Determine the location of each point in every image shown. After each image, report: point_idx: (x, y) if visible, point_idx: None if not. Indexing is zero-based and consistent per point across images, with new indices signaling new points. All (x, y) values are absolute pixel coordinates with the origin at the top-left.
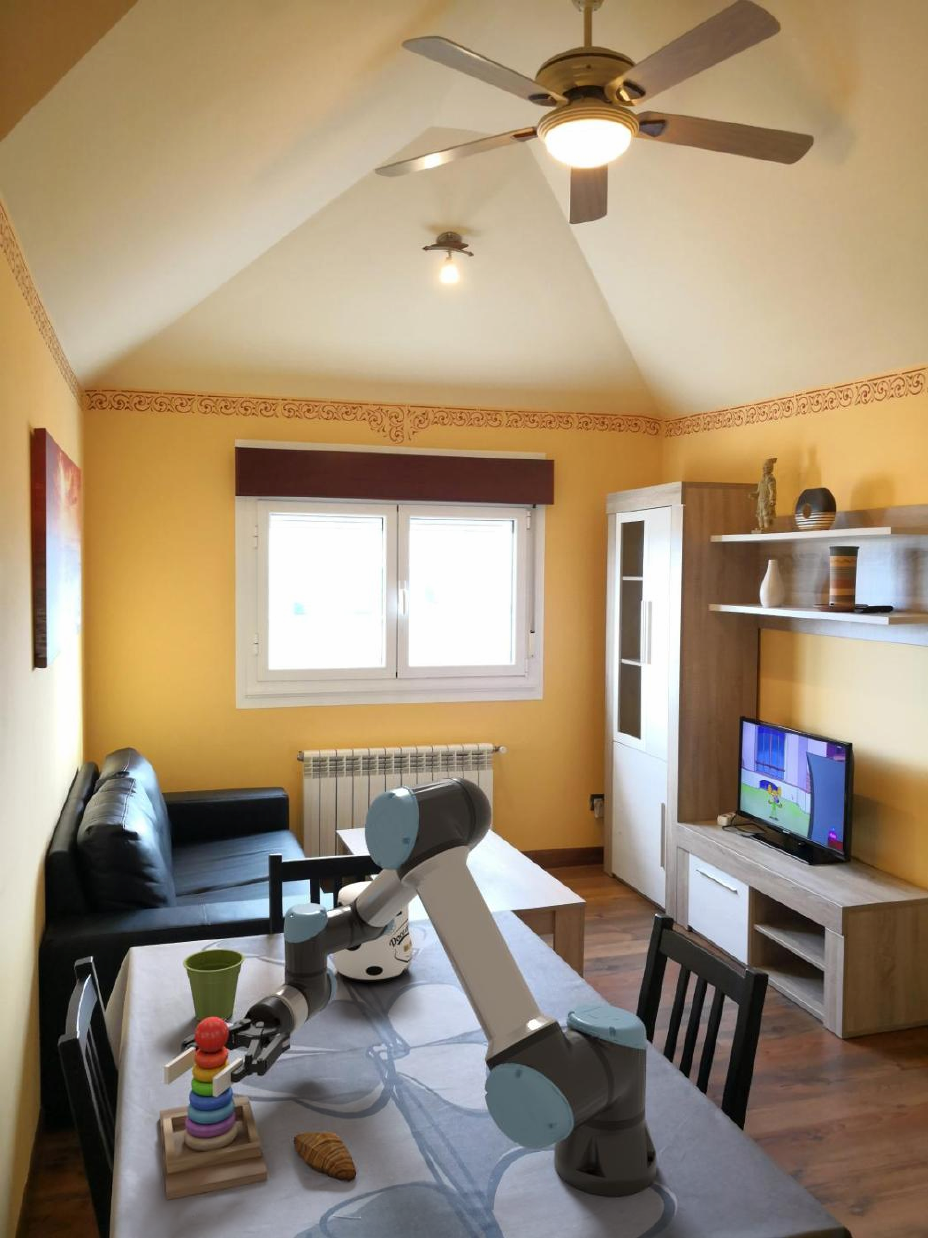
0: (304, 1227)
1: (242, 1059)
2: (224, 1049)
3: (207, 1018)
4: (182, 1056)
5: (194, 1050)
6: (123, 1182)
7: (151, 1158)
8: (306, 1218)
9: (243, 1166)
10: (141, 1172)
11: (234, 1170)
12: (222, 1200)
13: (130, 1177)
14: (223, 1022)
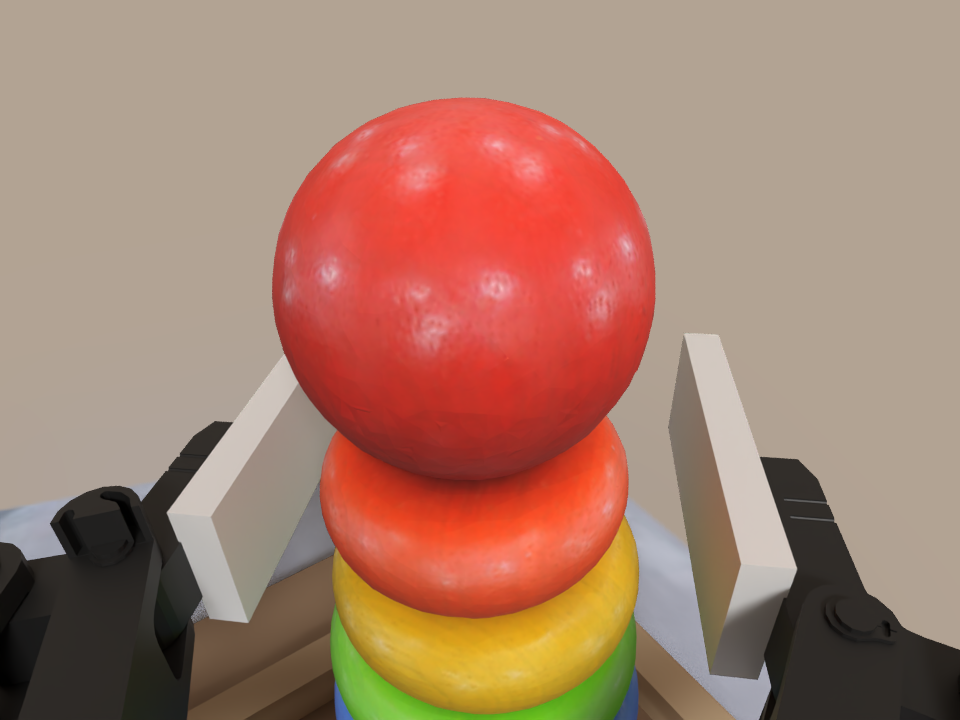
0: (33, 507)
1: (171, 508)
2: (352, 462)
3: (521, 108)
4: (715, 428)
5: (734, 560)
6: (672, 534)
7: (697, 670)
8: (21, 536)
9: (257, 650)
10: (660, 588)
11: (289, 618)
12: (307, 540)
13: (672, 558)
14: (314, 181)
